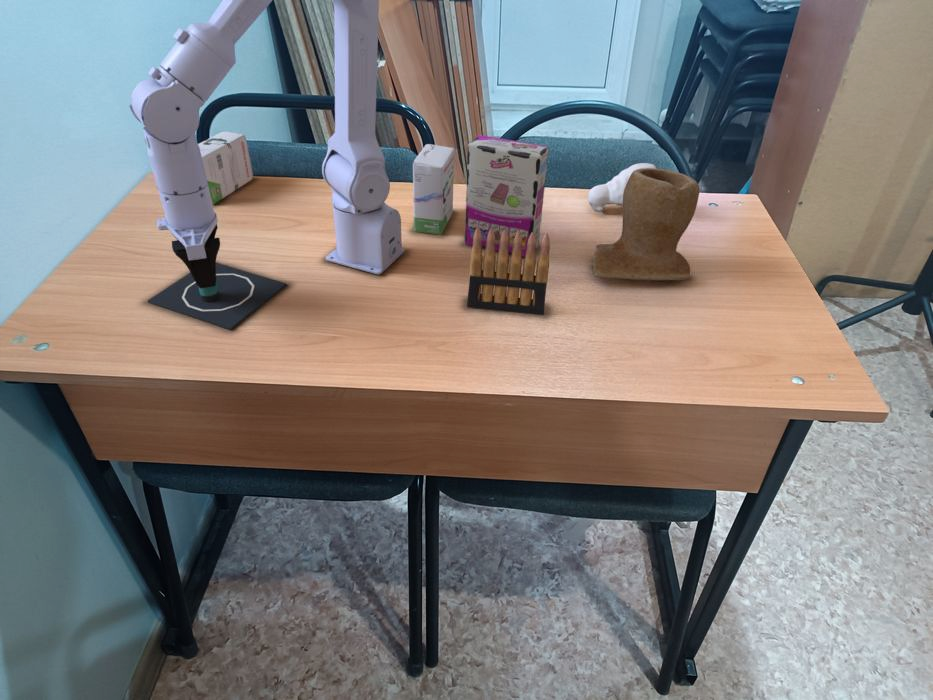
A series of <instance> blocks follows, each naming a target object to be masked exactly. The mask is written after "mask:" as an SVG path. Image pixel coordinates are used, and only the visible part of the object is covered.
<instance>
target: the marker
mask: <svg viewBox="0 0 933 700" xmlns="http://www.w3.org/2000/svg"><path fill="white" fill-rule="evenodd" d="M198 288H199V287H198ZM199 292H200V295H201V299H202V300H203V301H204V302H213V301H216V300H218V299H219V297H220V294H219V290H218V286H217V282H216V285H215V286H213V287H207V288H199Z"/></svg>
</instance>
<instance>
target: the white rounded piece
mask: <svg viewBox="0 0 933 700" xmlns="http://www.w3.org/2000/svg"><path fill="white" fill-rule="evenodd" d="M641 168H653V169H657V167H656V165H654V164H653V163H649V162H640V163H634V164H632V165H630V166H629V167H626V168H625V169H623V170H621V171H620V172H619V173H618V174H616V175H615V176H613V177H612V179H611V180H609V181H607V182H606V183H603V184H598V185H594V186H593V187H592V188H590V190H588V193H587V203H588V204H589V205H590V206H591V208H592V210H593V211H598V212H599V213H602V214H603V211H604V208H605V206H609V205H616V206H618V207H623V193H624V189H625V186H626V184H627V182H628V179H629V178H630V176H631V174H632V172H633V171H635V170H637V169H641Z"/></svg>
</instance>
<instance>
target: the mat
mask: <svg viewBox="0 0 933 700" xmlns="http://www.w3.org/2000/svg"><path fill="white" fill-rule="evenodd" d="M216 282H217V286H218V290H219V294H220V297H219V299H218V300H216V301H213V302H204V301H203V300H202V299H201V295H200V292H199V288H198V285H197V284H196V282H195V280H194V278H193V276H192V274H191V273H190V272H189V273H187V274H186V275H184V276H183V277H181V278H179V279H178V280H177V281H175V282H174V283H172V284H170V285H169V286H168V287H166V288H164V289H163V290H161V291H160V292H158V293H157V294H155V295H154V296H152V297H151V298H150V299H148V300H147V303H148V304H151V305H154V306H157V307H160V308H163V309H167V310H169V311H172V312H174V313H175V312H176V313H178V314H181V315H184V316H187V317H190V318H192V319H195V320H199V321H202V322H204V323H208V324H211V325H214V326H216V327H219V328H223V329H226V330H229V331H232V330H234V329H235V328H236V326H238V325H239V324H240V323H242V322H243V321H244V320H245V319H247V318H248V317H249V316H251V315H252V314H253V313H254V312H256V311H257V310H258V309H259V308H261V307H262V306H263V305H264V304H266V303H267V302H269V300H271V299H272V298H273V297H274V296H275V295H277V294H278V293H279V292H280V291H281V290H283V289H284V288H285V287H287V286H288V284H287V283H286V282H283V281H281V280H276V279H272V278H269V277H266V276H264V275H263V276H262V275H260V274H256V273H253V272H249V271H247V270H243V269H239V268H236V267H233V266H229V265H226V264H222V263H220V262H216Z"/></svg>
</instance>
